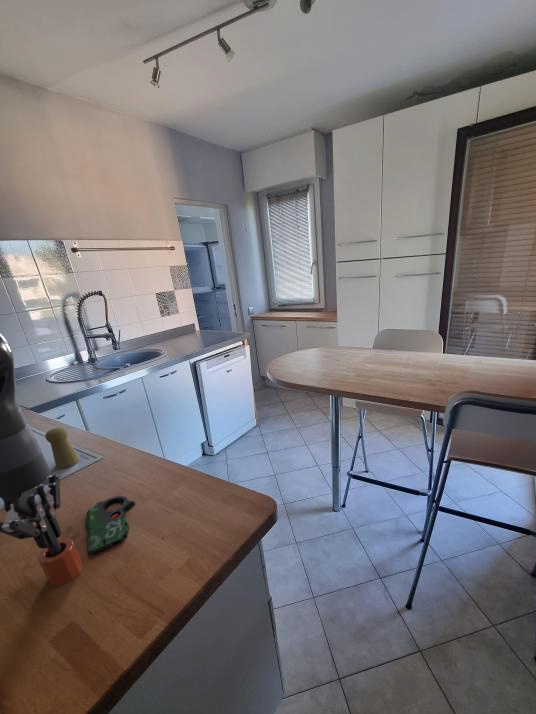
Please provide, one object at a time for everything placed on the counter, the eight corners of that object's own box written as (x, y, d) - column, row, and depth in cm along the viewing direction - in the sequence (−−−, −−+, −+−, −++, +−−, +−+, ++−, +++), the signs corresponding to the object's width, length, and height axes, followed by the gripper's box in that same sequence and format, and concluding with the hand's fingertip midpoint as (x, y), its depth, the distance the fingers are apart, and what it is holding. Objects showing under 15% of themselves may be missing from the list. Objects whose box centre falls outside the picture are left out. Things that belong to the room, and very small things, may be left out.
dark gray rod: (59, 576, 60) (32, 523, 55) (63, 568, 62) (38, 516, 57) (68, 574, 61) (43, 521, 56) (72, 567, 62) (48, 515, 57)
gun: (141, 531, 68) (85, 554, 63) (143, 536, 69) (88, 559, 64) (131, 490, 81) (84, 507, 76) (133, 495, 82) (86, 512, 77)
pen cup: (44, 589, 59) (31, 564, 56) (59, 564, 63) (47, 541, 61) (75, 583, 59) (63, 559, 57) (88, 559, 64) (77, 536, 62)
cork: (52, 465, 97) (38, 431, 93) (74, 454, 101) (61, 422, 97) (61, 471, 94) (46, 436, 89) (83, 460, 98) (71, 427, 94)
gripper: (12, 439, 57) (49, 517, 64) (-52, 488, 45) (2, 579, 52) (59, 433, 58) (90, 511, 65) (8, 480, 46) (53, 571, 52)
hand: (51, 541), depth 58 cm, fingers closed on dark gray rod, 1 cm apart
